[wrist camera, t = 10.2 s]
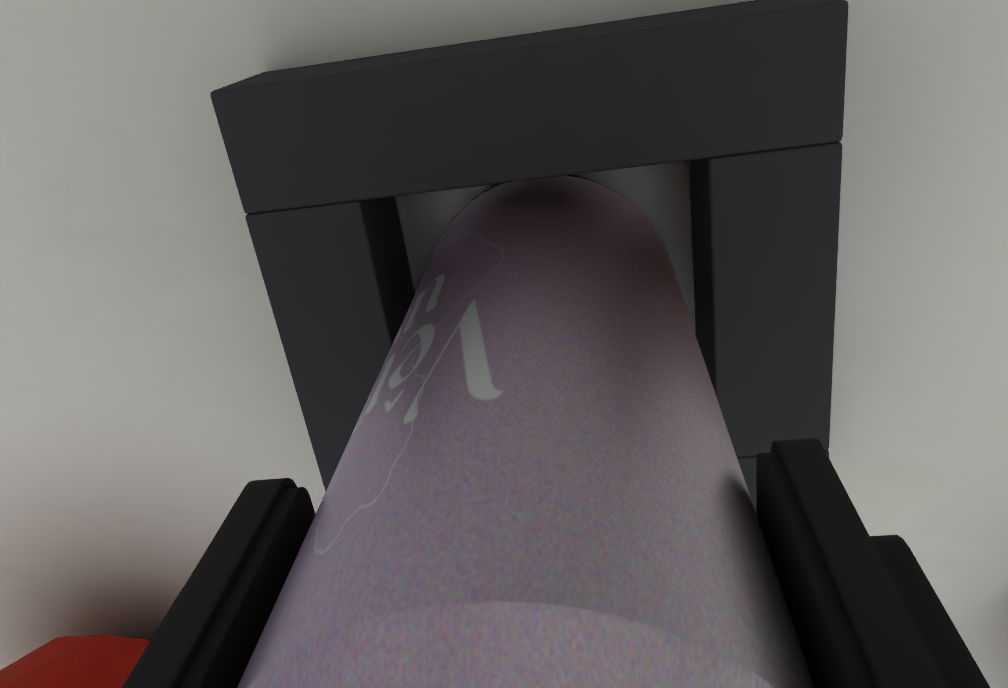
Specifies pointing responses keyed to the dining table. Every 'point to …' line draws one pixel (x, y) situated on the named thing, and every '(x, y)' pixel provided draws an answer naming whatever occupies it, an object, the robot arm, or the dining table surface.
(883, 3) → the dining table surface
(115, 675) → the apple
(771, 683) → the beverage can
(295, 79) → the socket pad
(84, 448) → the dining table surface
